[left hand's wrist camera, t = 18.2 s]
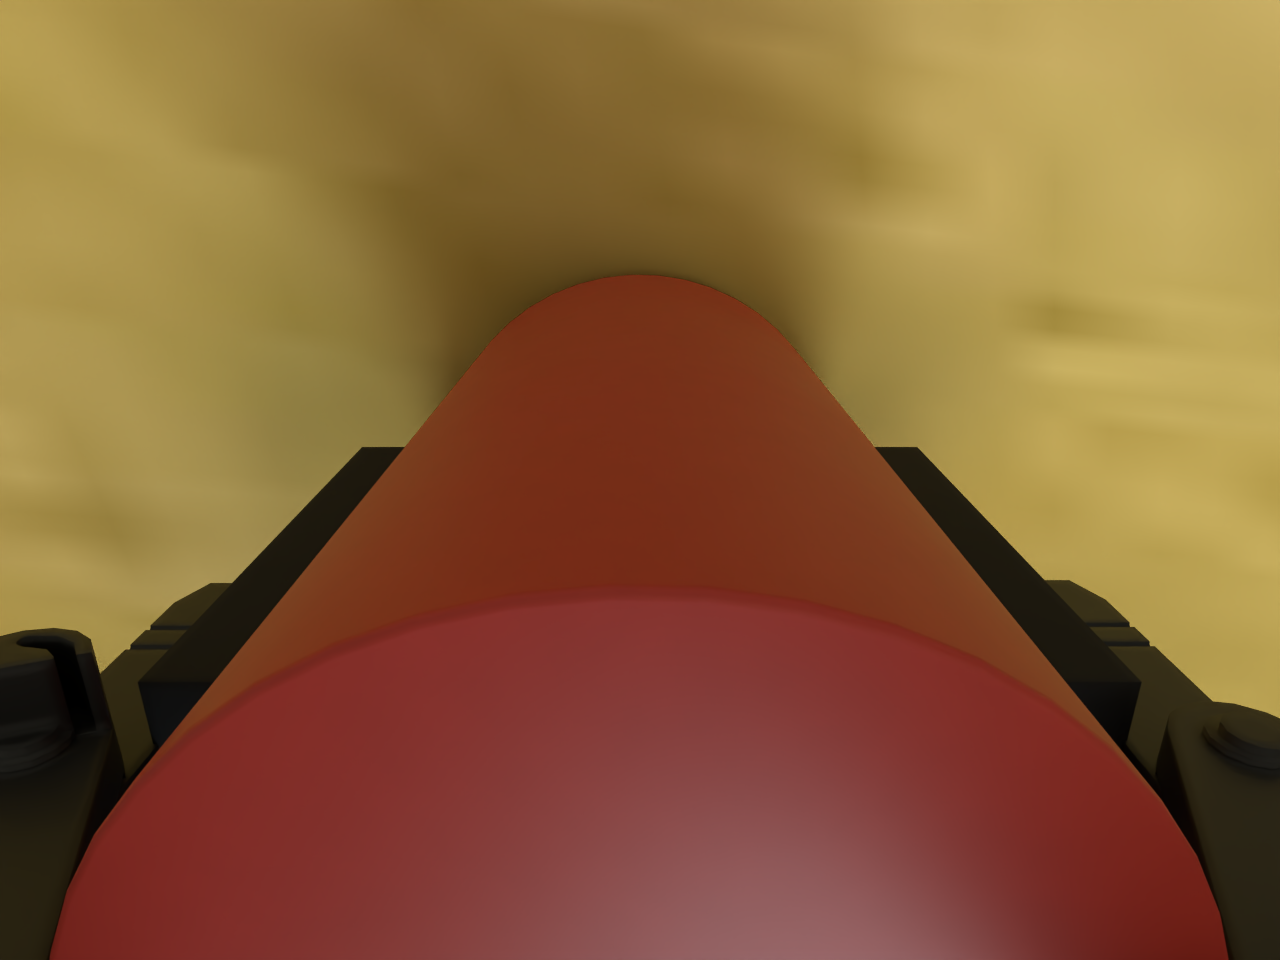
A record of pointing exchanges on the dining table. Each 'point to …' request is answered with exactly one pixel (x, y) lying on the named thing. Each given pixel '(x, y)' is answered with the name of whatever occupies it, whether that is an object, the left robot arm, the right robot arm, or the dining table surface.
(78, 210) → the dining table surface
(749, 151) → the dining table surface
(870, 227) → the dining table surface
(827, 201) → the dining table surface
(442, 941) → the can
